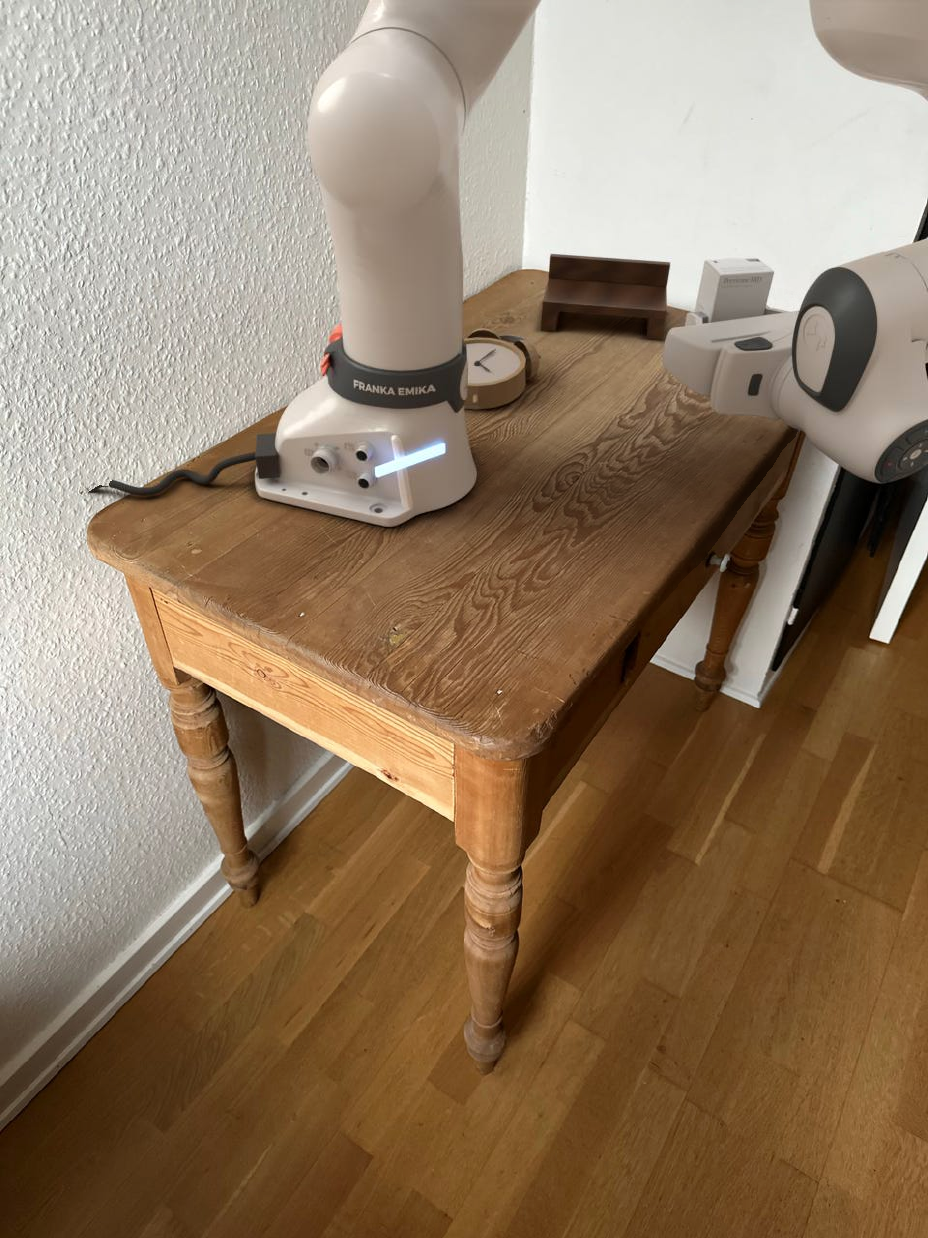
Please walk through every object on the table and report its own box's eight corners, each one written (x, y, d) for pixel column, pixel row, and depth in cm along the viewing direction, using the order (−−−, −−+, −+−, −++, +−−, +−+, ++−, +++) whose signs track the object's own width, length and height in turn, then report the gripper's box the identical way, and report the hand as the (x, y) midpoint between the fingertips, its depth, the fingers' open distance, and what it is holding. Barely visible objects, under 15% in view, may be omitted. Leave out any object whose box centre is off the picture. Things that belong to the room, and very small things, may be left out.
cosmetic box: (696, 388, 97) (719, 274, 89) (680, 369, 100) (701, 258, 92) (749, 383, 98) (777, 271, 90) (732, 365, 101) (757, 255, 93)
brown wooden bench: (540, 330, 120) (544, 277, 115) (546, 304, 127) (550, 253, 122) (662, 340, 118) (670, 287, 114) (661, 312, 125) (670, 261, 120)
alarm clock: (408, 369, 104) (482, 306, 112) (414, 404, 108) (485, 341, 116) (488, 397, 100) (560, 329, 107) (491, 433, 103) (560, 365, 111)
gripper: (901, 325, 86) (813, 274, 96) (715, 353, 81) (642, 295, 90) (880, 386, 90) (797, 331, 100) (702, 416, 85) (633, 355, 95)
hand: (722, 314), depth 95 cm, fingers closed on cosmetic box, 6 cm apart
